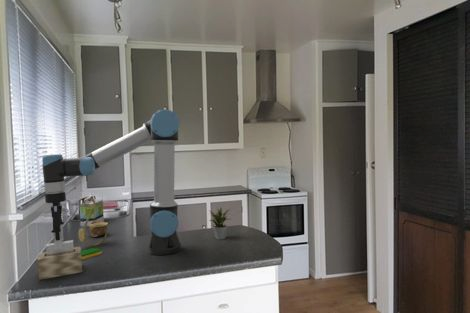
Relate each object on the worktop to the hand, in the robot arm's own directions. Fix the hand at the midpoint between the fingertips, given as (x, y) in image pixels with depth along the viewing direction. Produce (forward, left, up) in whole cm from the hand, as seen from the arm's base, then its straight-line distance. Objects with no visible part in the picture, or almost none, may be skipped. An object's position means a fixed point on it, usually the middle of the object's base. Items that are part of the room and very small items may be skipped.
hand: (59, 244), depth 150 cm
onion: (+18, -56, -12) cm, 59 cm away
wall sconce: (+8, -36, -12) cm, 39 cm away
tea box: (+42, -86, -12) cm, 97 cm away
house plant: (-56, -50, -12) cm, 76 cm away
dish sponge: (+3, -20, -12) cm, 23 cm away
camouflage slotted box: (0, 0, -12) cm, 12 cm away
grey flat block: (0, 0, -9) cm, 9 cm away
